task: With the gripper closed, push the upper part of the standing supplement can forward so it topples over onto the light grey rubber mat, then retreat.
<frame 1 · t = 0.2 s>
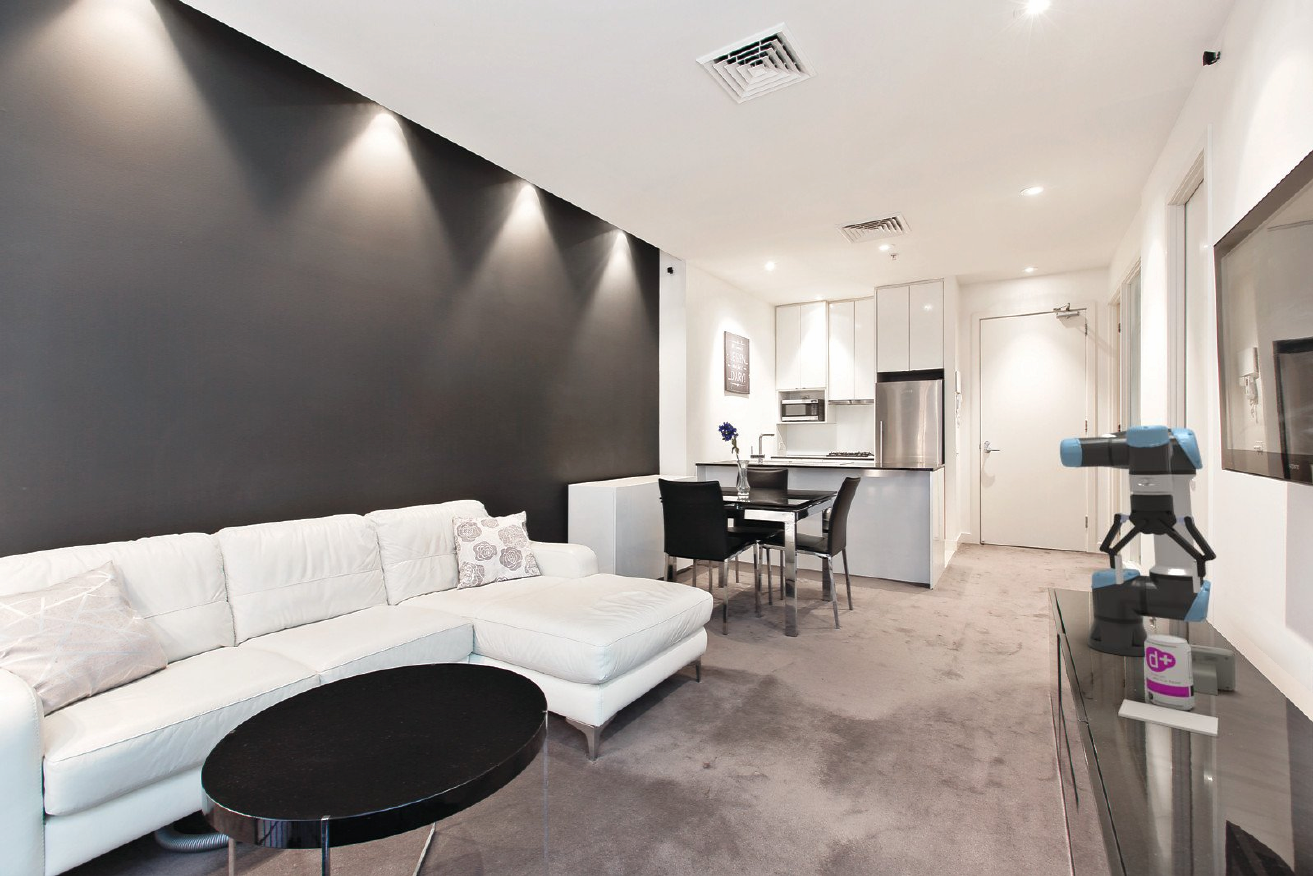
hand: (1157, 587, 135), 28 cm above the tv stand, fingers open, 13 cm apart
digital clock: (1192, 687, 147), on the tv stand
mat: (1167, 718, 130), on the tv stand
supplement can: (1171, 705, 137), on the tv stand
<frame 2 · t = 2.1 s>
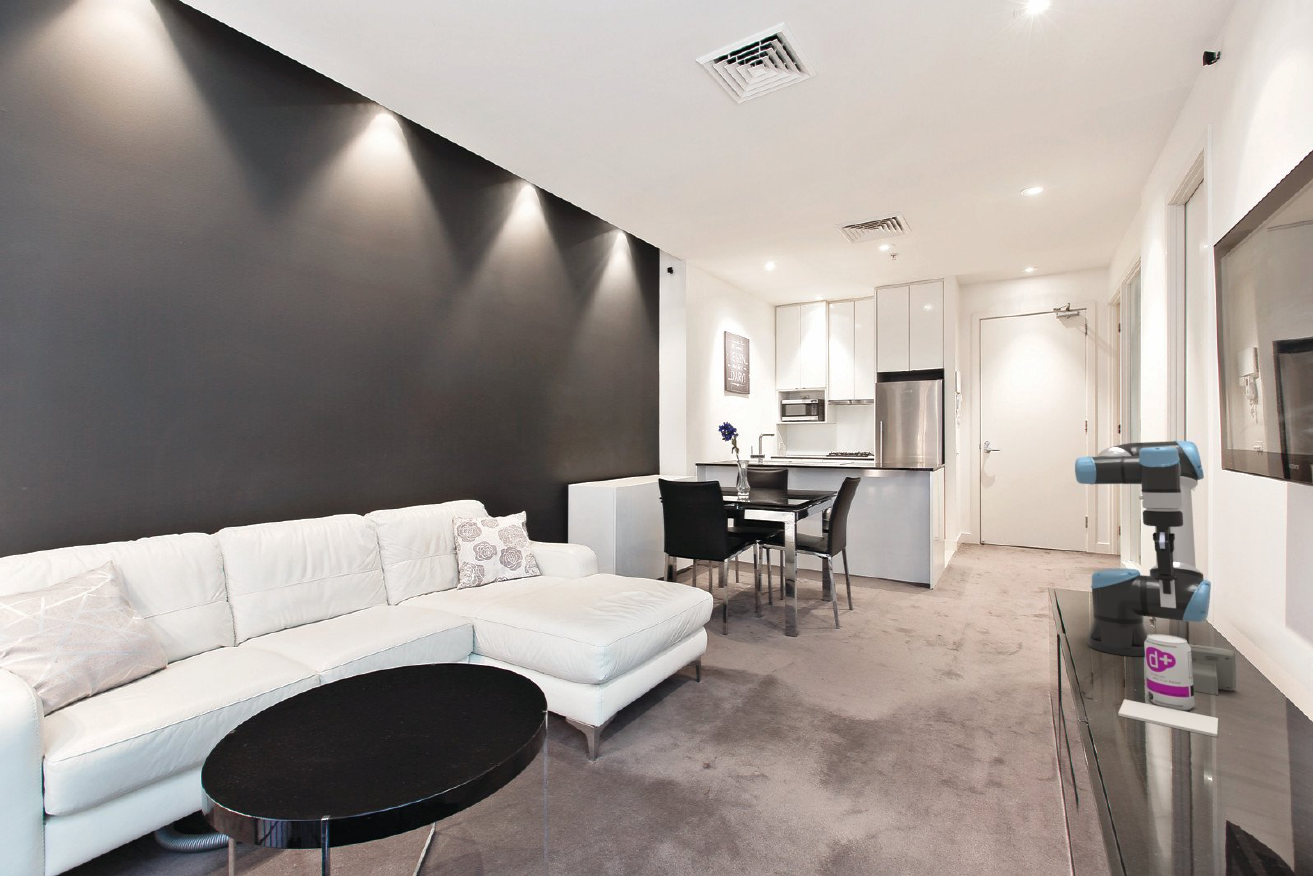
hand: (1168, 606, 145), 20 cm above the tv stand, fingers closed
nothing on the tv stand moved.
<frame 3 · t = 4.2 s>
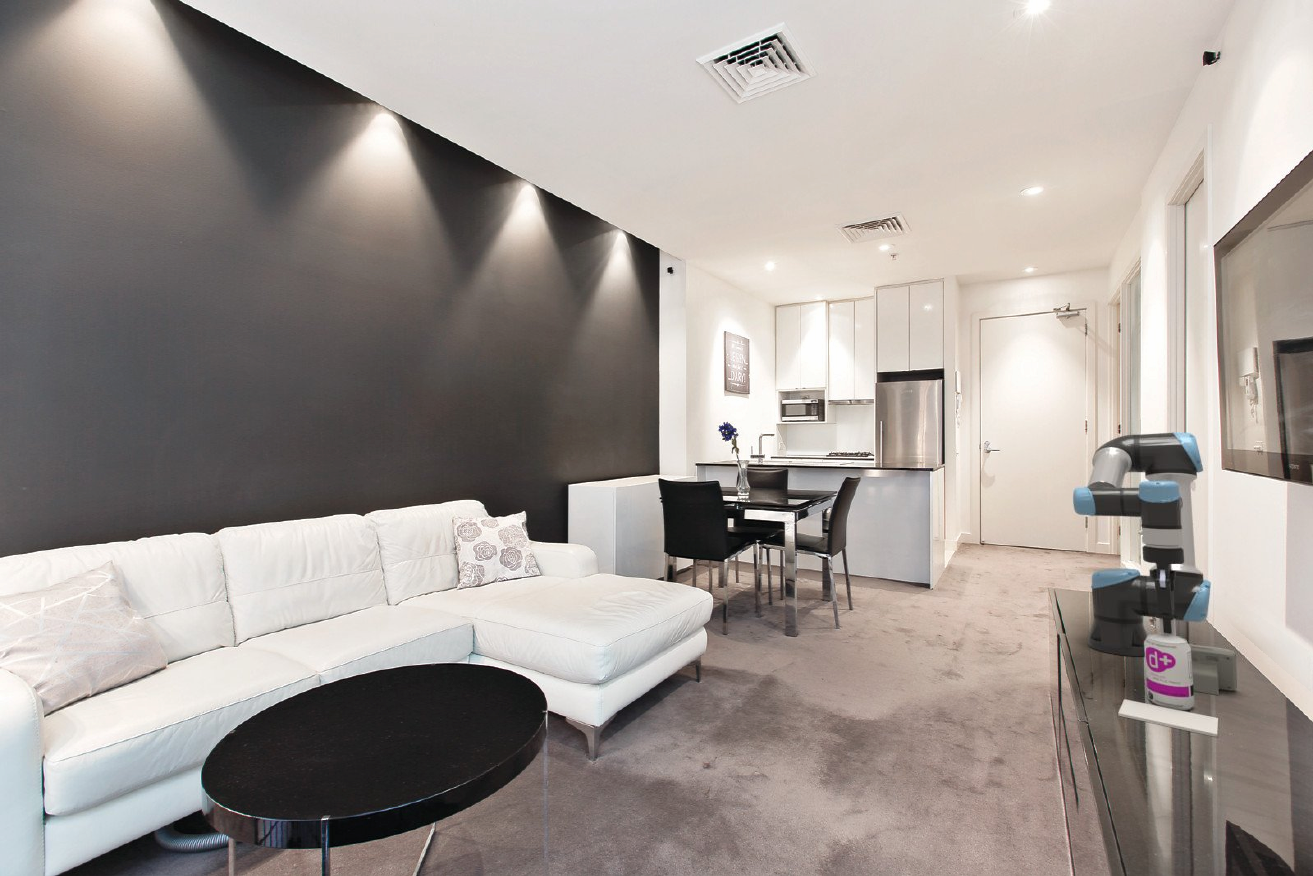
hand: (1169, 646, 141), 12 cm above the tv stand, fingers closed
supplement can: (1171, 704, 137), on the tv stand, touching gripper
everything else where it was.
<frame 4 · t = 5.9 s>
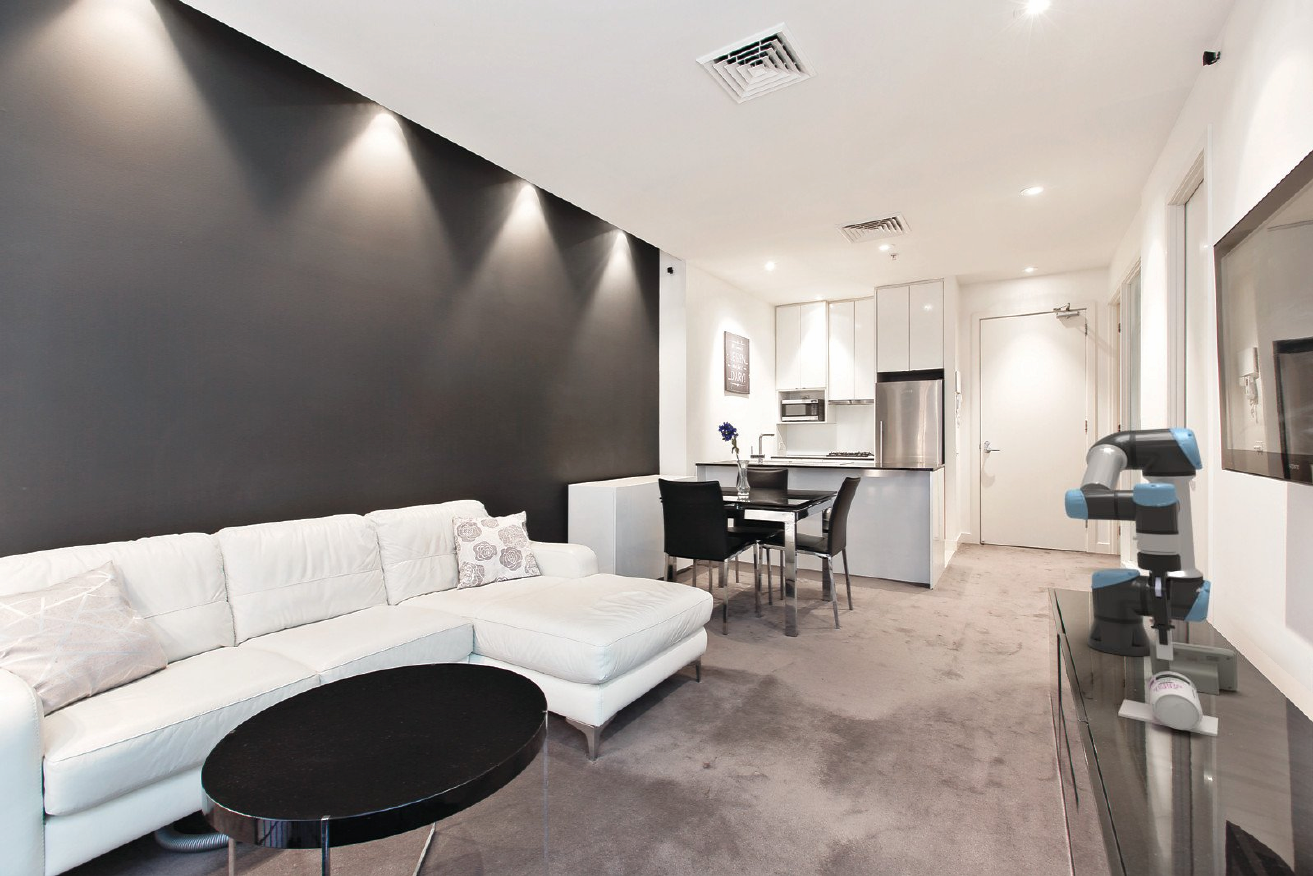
hand: (1165, 658, 133), 12 cm above the tv stand, fingers closed
supplement can: (1172, 688, 134), point 5 cm above the tv stand, touching mat
everything else where it was.
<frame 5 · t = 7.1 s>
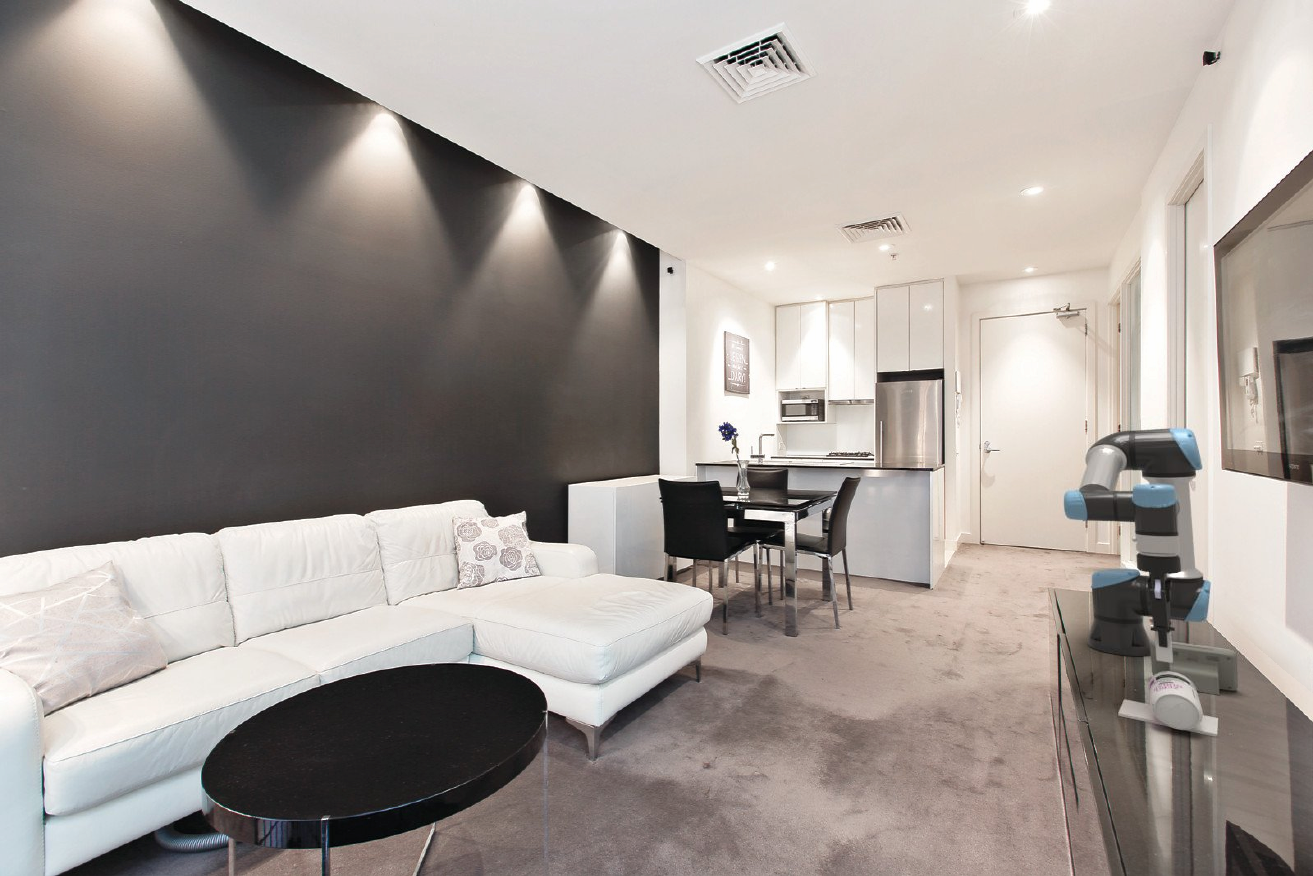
hand: (1164, 660, 132), 12 cm above the tv stand, fingers closed
nothing on the tv stand moved.
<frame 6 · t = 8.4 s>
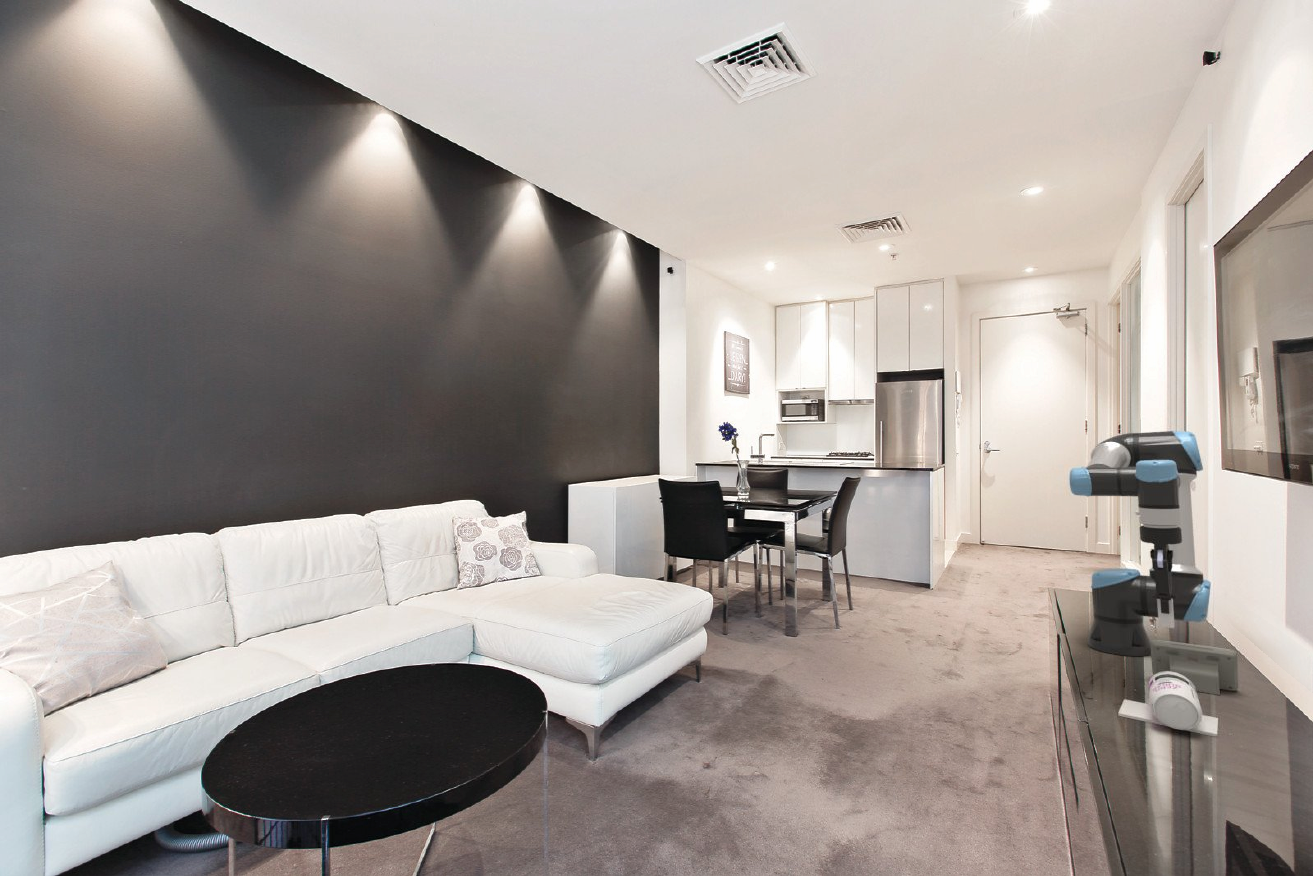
hand: (1166, 626, 140), 17 cm above the tv stand, fingers closed
nothing on the tv stand moved.
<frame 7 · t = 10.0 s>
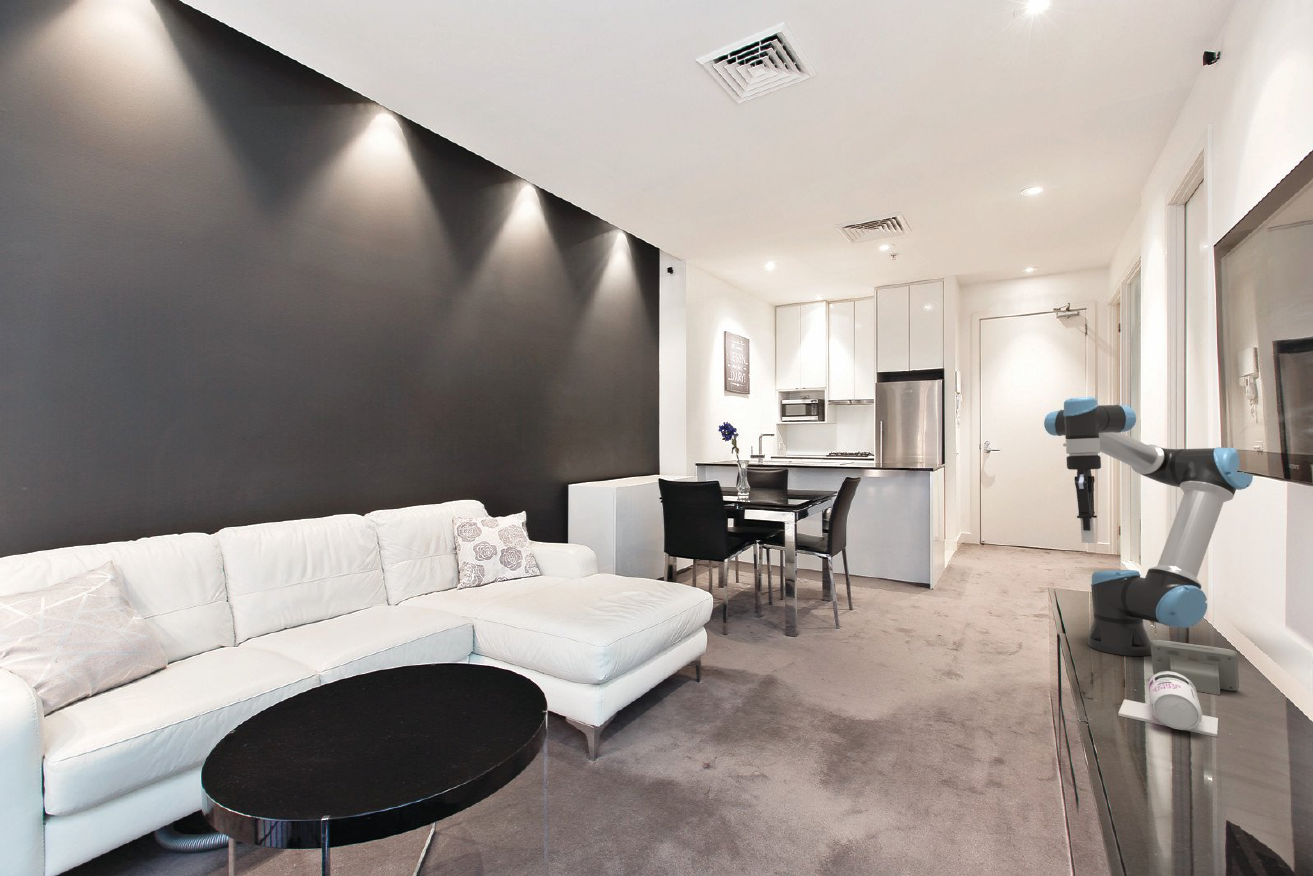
hand: (1088, 542, 160), 34 cm above the tv stand, fingers closed
nothing on the tv stand moved.
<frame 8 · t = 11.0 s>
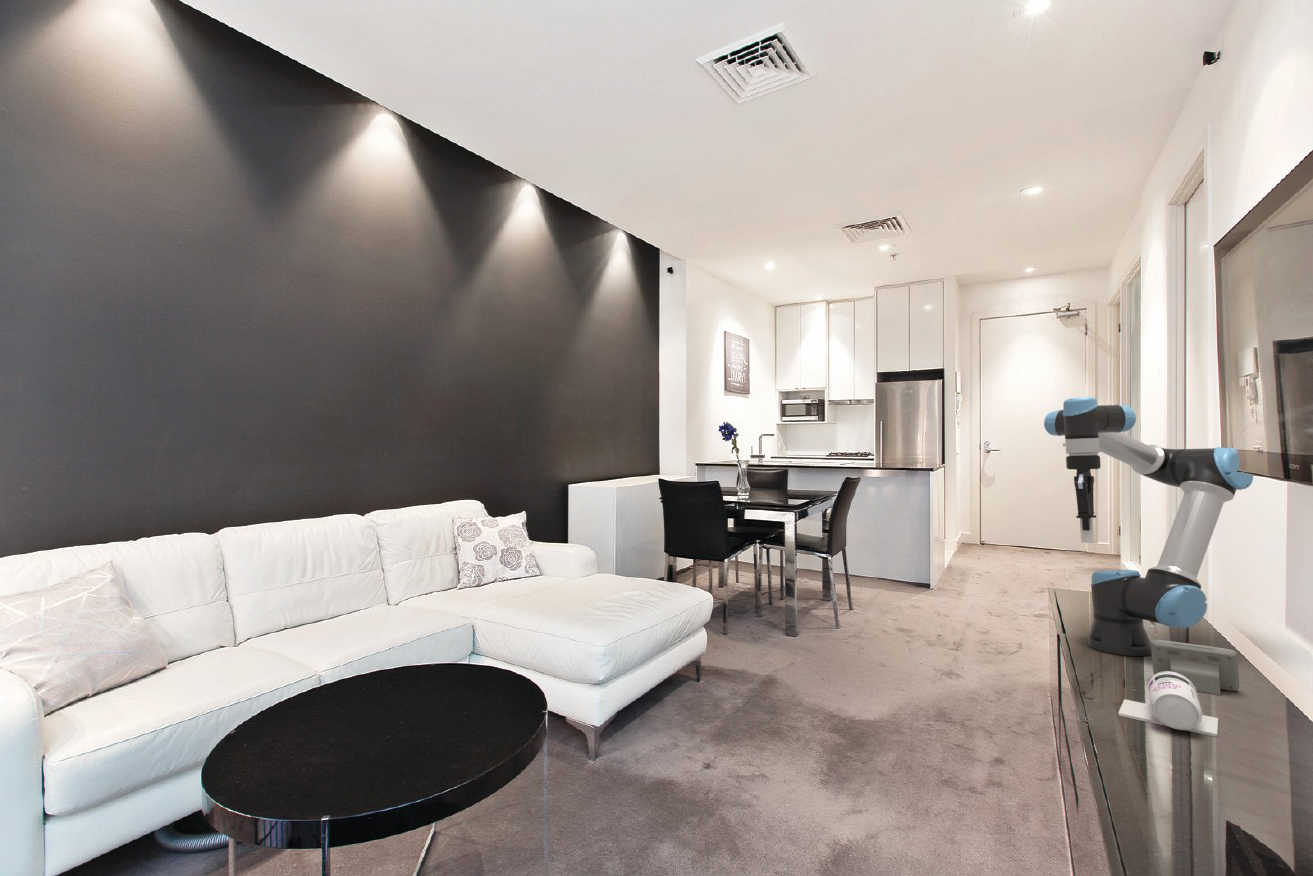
hand: (1087, 542, 160), 34 cm above the tv stand, fingers closed
nothing on the tv stand moved.
at the end: supplement can tilted 90°; supplement can inside the target area (8.5 cm from its centre), point 4.7 cm above the tv stand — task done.
